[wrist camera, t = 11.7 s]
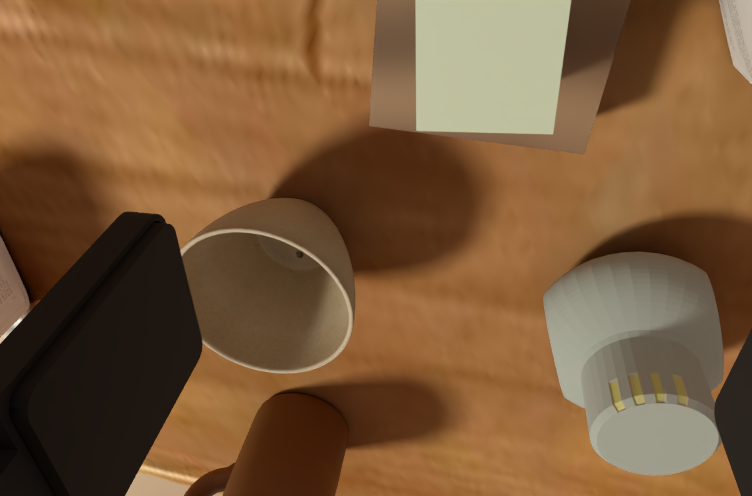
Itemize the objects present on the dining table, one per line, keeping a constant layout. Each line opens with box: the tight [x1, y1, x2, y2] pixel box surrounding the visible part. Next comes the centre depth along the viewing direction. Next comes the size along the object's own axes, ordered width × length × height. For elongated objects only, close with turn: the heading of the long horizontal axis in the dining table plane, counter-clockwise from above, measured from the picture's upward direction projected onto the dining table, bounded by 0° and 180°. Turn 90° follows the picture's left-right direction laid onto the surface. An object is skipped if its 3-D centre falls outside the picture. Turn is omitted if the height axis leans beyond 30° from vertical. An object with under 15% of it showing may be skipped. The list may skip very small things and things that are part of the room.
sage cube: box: [415, 0, 571, 134], centre depth 23 cm, size 5×5×5 cm
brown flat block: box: [369, 0, 631, 154], centre depth 26 cm, size 10×10×4 cm
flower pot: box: [180, 198, 355, 374], centre depth 34 cm, size 10×10×7 cm
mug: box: [184, 393, 348, 496], centre depth 45 cm, size 12×8×9 cm, turn 109°
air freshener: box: [543, 252, 724, 475], centre depth 32 cm, size 11×8×10 cm
